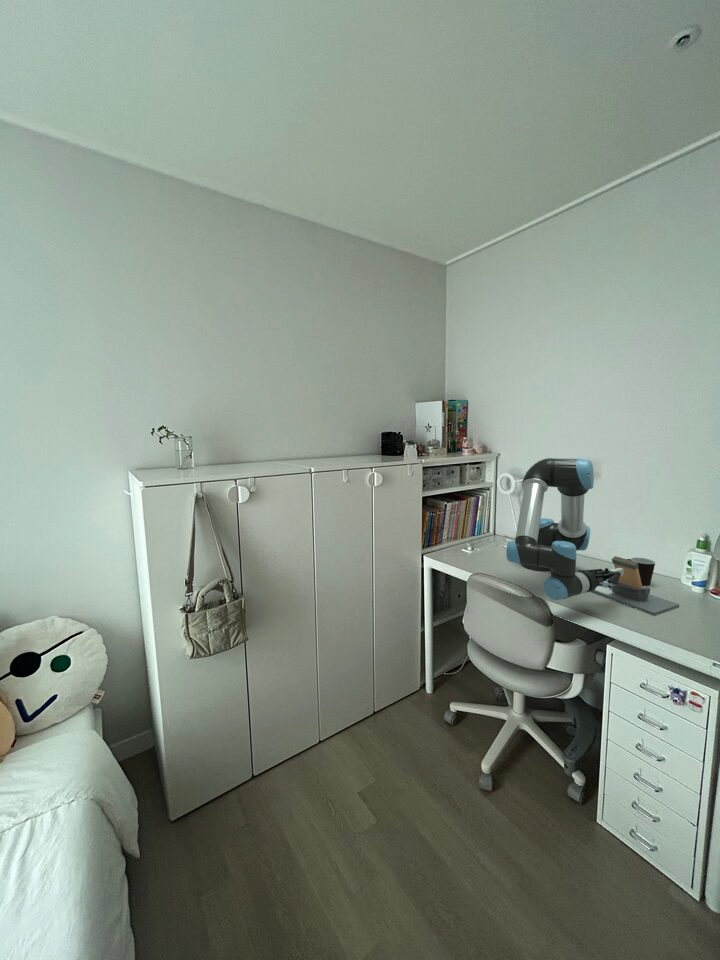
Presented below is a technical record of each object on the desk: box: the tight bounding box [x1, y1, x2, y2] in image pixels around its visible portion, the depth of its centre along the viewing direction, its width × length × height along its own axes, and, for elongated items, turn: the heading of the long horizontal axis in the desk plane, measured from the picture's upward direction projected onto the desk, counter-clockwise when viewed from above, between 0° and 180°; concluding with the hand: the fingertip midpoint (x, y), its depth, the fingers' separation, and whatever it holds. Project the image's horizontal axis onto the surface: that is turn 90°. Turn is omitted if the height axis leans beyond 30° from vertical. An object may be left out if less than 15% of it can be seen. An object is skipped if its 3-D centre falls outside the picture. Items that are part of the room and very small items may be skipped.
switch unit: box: [590, 583, 680, 616], centre depth 152 cm, size 26×16×6 cm, turn 25°
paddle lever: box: [611, 555, 644, 591], centre depth 150 cm, size 9×2×13 cm, turn 25°
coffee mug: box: [626, 557, 656, 587], centre depth 168 cm, size 12×9×10 cm
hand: (621, 571), depth 148 cm, fingers closed
